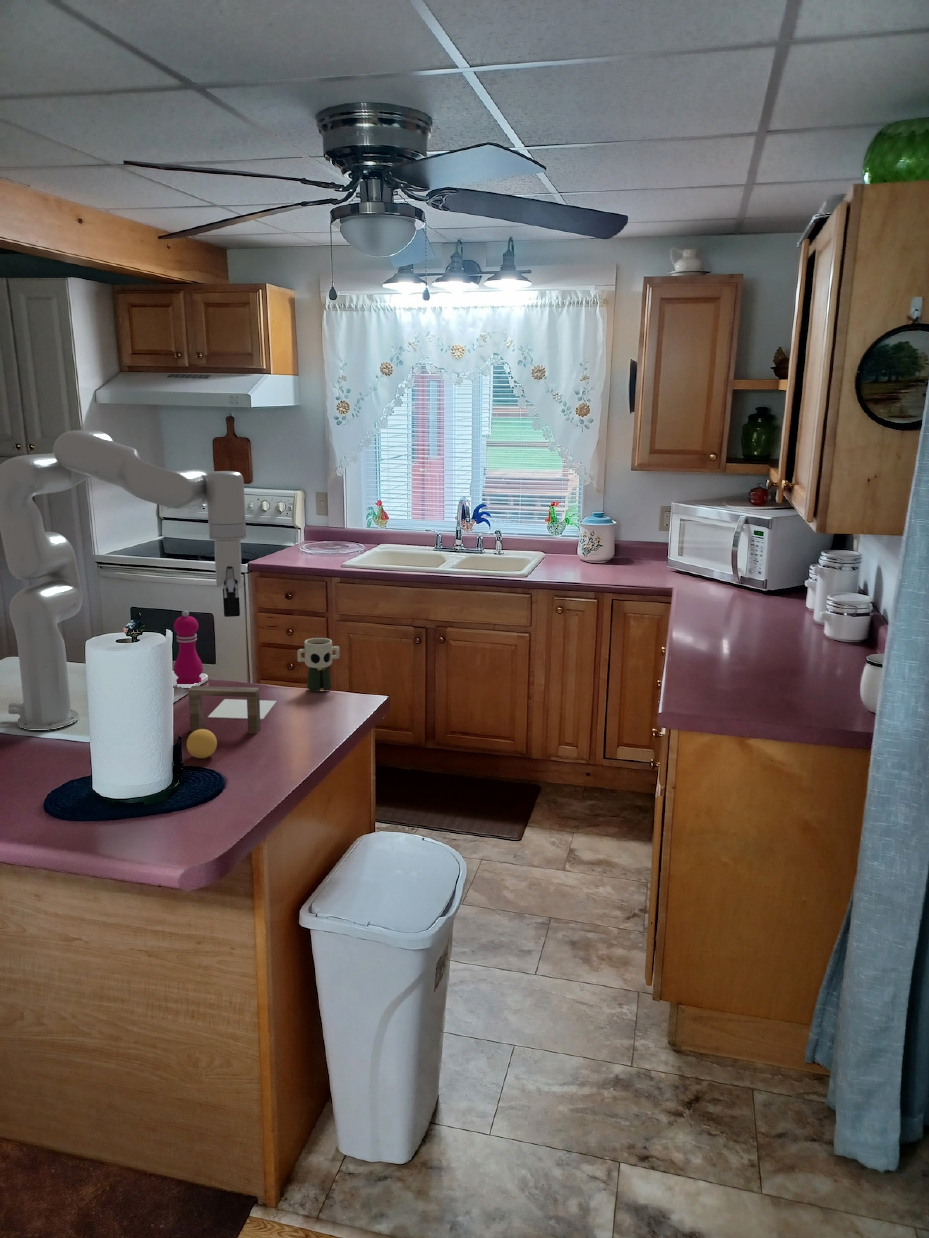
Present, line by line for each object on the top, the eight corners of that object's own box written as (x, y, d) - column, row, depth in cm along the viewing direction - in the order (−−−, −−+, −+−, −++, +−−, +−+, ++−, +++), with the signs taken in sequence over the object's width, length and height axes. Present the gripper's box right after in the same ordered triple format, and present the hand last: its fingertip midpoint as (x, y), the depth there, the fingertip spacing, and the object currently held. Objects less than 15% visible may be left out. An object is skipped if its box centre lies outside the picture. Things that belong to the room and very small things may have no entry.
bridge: (257, 733, 197) (255, 692, 195) (190, 731, 197) (188, 689, 195) (260, 728, 200) (259, 687, 198) (195, 726, 200) (192, 685, 198)
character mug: (301, 695, 223) (300, 646, 220) (295, 687, 230) (294, 639, 227) (343, 691, 227) (342, 642, 224) (336, 683, 234) (335, 636, 231)
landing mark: (207, 717, 206) (207, 716, 206) (224, 699, 219) (224, 699, 219) (263, 719, 206) (263, 718, 206) (276, 701, 218) (276, 700, 218)
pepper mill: (174, 690, 225) (169, 614, 220) (175, 682, 232) (171, 607, 227) (203, 688, 227) (199, 613, 222) (203, 680, 234) (200, 606, 229)
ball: (183, 762, 180) (181, 734, 179) (193, 751, 186) (191, 724, 185) (212, 763, 180) (211, 735, 179) (221, 752, 186) (220, 725, 185)
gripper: (209, 526, 191) (213, 603, 195) (208, 537, 175) (213, 621, 179) (244, 525, 193) (248, 602, 197) (247, 536, 177) (251, 619, 181)
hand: (231, 611), depth 188 cm, fingers open, 9 cm apart
